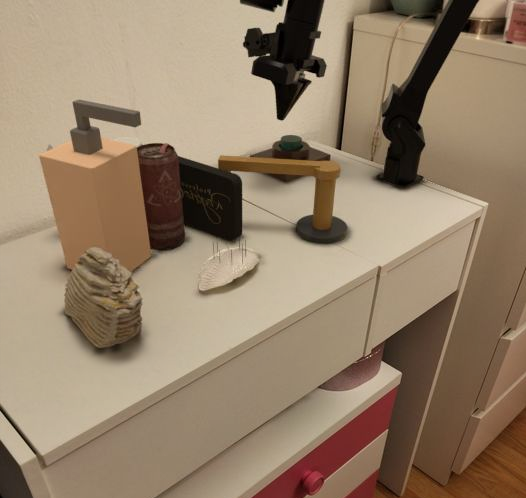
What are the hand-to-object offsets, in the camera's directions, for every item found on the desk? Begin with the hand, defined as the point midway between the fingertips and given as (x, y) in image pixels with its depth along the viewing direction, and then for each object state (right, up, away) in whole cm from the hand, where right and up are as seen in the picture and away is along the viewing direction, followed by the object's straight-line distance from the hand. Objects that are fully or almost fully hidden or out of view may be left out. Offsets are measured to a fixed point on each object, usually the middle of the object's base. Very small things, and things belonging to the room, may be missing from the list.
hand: (280, 119), depth 98 cm
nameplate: (-15, -20, -9) cm, 27 cm away
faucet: (+6, -22, -11) cm, 25 cm away
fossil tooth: (-22, -38, -30) cm, 53 cm away
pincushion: (-8, -31, -20) cm, 38 cm away
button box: (+2, -5, +9) cm, 11 cm away
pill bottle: (-24, -18, -6) cm, 31 cm away
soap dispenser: (-23, -29, -19) cm, 42 cm away
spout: (-1, -15, -15) cm, 22 cm away
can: (-18, -24, -13) cm, 33 cm away
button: (+2, -2, +7) cm, 8 cm away
